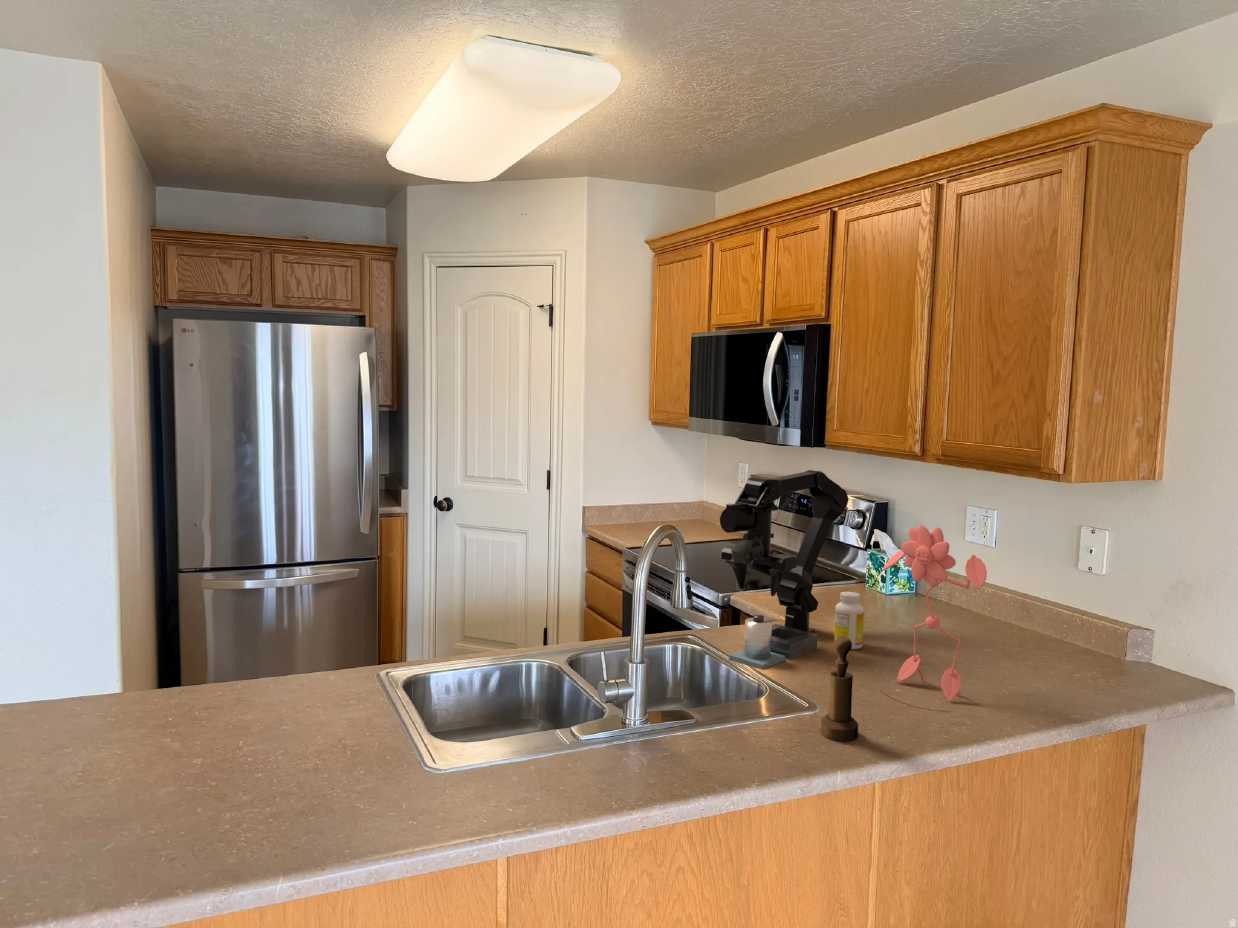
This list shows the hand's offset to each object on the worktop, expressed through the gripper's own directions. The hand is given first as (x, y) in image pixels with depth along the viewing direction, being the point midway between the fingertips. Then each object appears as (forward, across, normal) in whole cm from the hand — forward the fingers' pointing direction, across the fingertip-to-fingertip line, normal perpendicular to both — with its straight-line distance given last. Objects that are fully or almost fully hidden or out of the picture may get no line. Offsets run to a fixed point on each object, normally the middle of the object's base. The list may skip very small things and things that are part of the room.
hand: (756, 592), depth 205 cm
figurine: (+12, +44, -5) cm, 46 cm away
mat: (+12, +9, -12) cm, 19 cm away
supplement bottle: (+12, +18, +13) cm, 25 cm away
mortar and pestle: (+12, +43, -35) cm, 57 cm away
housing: (+12, +8, 0) cm, 14 cm away
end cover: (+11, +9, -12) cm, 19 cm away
